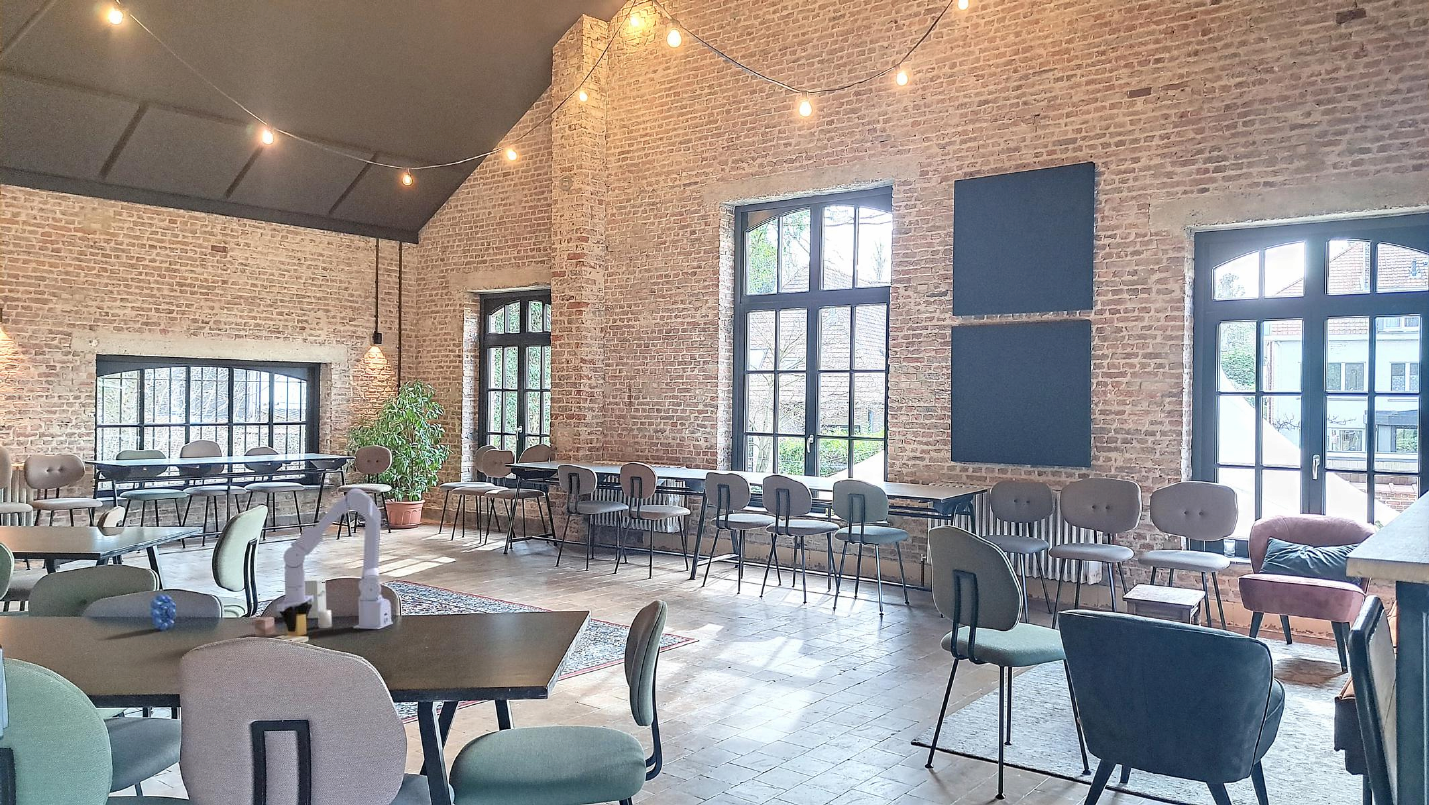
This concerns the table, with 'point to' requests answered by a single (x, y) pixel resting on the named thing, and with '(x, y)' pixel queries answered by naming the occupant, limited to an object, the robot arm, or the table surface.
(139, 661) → the table surface
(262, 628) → the rose block
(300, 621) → the ochre block
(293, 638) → the ash board
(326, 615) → the grey cylinder
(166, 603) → the grapes
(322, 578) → the supplement box
